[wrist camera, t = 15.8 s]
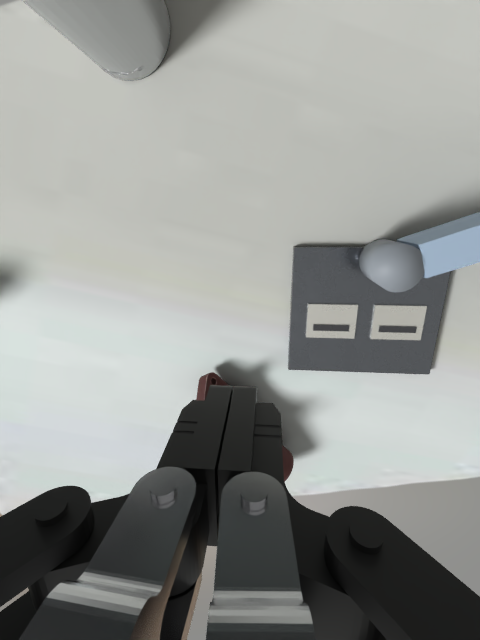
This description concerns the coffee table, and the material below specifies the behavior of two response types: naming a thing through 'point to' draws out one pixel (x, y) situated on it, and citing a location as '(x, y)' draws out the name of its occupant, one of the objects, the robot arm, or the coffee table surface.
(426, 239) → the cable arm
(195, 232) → the coffee table surface
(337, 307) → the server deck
